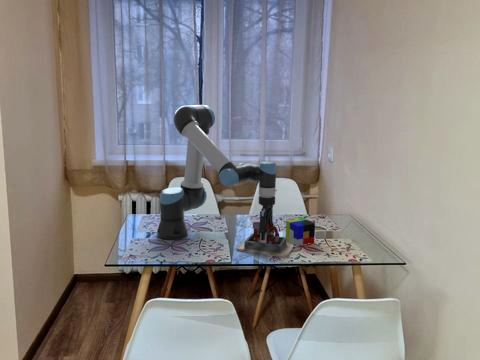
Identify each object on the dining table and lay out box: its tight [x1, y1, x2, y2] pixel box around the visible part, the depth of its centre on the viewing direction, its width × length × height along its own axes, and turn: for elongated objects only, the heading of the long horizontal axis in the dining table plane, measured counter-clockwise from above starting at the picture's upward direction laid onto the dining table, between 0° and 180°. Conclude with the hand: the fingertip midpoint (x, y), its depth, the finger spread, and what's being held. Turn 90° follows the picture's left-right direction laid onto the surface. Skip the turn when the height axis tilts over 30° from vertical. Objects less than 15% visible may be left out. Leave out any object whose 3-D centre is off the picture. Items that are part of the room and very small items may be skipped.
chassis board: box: [235, 232, 295, 258], centre depth 207 cm, size 24×14×4 cm, turn 71°
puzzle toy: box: [285, 217, 316, 247], centre depth 217 cm, size 10×10×10 cm
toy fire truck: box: [252, 221, 280, 244], centre depth 206 cm, size 7×12×10 cm, turn 83°
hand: (265, 243), depth 207 cm, fingers closed on toy fire truck, 7 cm apart
